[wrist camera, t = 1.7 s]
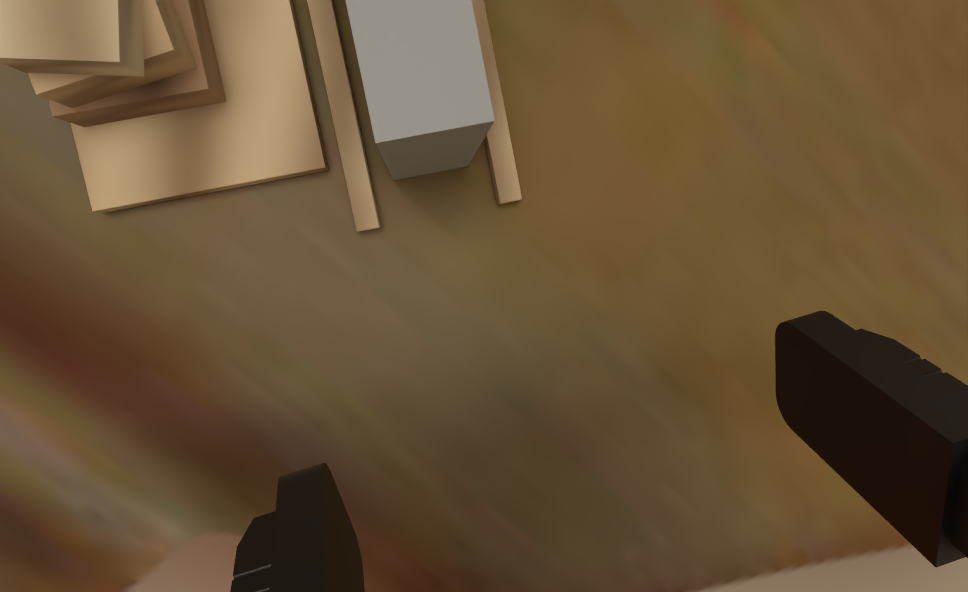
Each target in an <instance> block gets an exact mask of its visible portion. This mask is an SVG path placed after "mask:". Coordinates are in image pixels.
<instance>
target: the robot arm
mask: <svg viewBox="0 0 968 592" xmlns="http://www.w3.org/2000/svg"><path fill="white" fill-rule="evenodd" d="M775 359H776V399H777V403H778V407H779V410H780V412H781V414H782V416H783V418H784V420H785V421H786V423H787V424H788V426H789V427H790V428H791V429H792V430H793V431H794V432H795V433H796V434H797V435H798V436H799V437H800V438H801V439H802V440H803V441H804V442H805V443H806V444H807V445H808V446H809V447H810V448H812V449H813V450H814V451H815V452H816V453H817V454H818V455H819V456H820V457H821V458H822V459H823V460H824V461H825V462H826V463H827V464H828V465H829V466H830V467H831V468H832V469H833V470H834V471H836V472H837V473H838V474H839V475H840V476H841V477H842V478H843V479H844V480H845V481H846V482H847V483H848V484H849V485H850V486H851V487H852V488H853V489H854V490H855V491H856V492H857V493H859V494H860V495H861V496H862V497H863V498H864V499H865V500H866V501H867V502H868V503H869V504H870V505H871V506H872V507H873V508H874V509H875V510H876V511H877V512H878V513H879V514H880V515H881V516H883V517H884V518H885V519H886V520H887V521H888V522H889V523H890V524H891V525H892V526H893V527H894V528H895V529H896V530H897V531H898V532H899V533H900V534H901V535H902V536H903V537H904V538H906V539H907V540H908V541H909V542H910V543H911V544H912V545H913V546H914V547H915V548H916V549H917V550H918V551H919V552H920V553H921V554H922V555H923V556H924V557H926V559H927V560H928V561H930V562H931V563H932V564H933V565H934V566H935V567H938V566H941V565H944V564H947V563H950V562H953V561H956V560H958V559H961V558H964V557H967V558H968V386H967V385H966V384H964V383H962V382H961V381H959V380H958V379H956V378H955V377H953V376H951V375H950V374H948V373H947V372H946V373H942V371H941V369H940V368H939V367H937V366H935V365H934V364H932V363H931V362H929V361H928V360H926V359H923V360H922V359H921V358H920V355H918V354H916V353H915V352H913V351H912V350H910V349H908V348H907V347H905V346H904V345H902V344H901V343H899V342H897V341H896V340H894V339H891V338H888V337H885V336H882V335H879V334H876V333H873V332H870V331H866V330H863V329H859V330H854V329H853V328H851V327H850V326H848V325H847V324H845V323H844V322H842V321H841V320H839V319H838V318H836V317H835V316H833V315H832V314H830V313H828V312H826V311H818V312H815V313H812V314H808V315H805V316H802V317H798V318H795V319H792V320H788V321H785V322H782V323H780V324H779V325H778V326H777V329H776V333H775ZM233 576H234V580H233V581H232V586H231V592H365V590H364V576H363V565H362V559H361V553H360V549H359V545H358V541H357V537H356V534H355V531H354V529H353V526H352V523H351V521H350V518H349V516H348V513H347V511H346V508H345V506H344V503H343V501H342V498H341V496H340V493H339V491H338V488H337V486H336V483H335V481H334V478H333V476H332V473H331V471H330V469H329V467H328V466H327V464H326V463H323V464H320V465H316V466H313V467H310V468H307V469H303V470H300V471H297V472H293V473H290V474H287V475H284V476H281V477H280V478H279V481H278V490H277V502H276V511H275V512H272V513H269V514H265V515H262V516H259V517H256V518H254V519H253V520H252V522H251V524H250V526H249V527H248V529H247V531H246V532H245V534H244V536H243V537H242V539H241V541H240V543H239V544H238V546H237V551H236V558H235V565H234V572H233Z"/></svg>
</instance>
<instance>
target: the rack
mask: <svg viewBox="0 0 968 592" xmlns="http://www.w3.org/2000/svg"><path fill="white" fill-rule="evenodd" d="M307 2H308V6H309V11H310V16H311V20H312V25H313V30H314V34H315V39H316V44H317V48H318V53H319V58H320V62H321V67H322V72H323V76H324V81H325V86H326V90H327V95H328V99H329V104H330V109H331V113H332V118H333V123H334V127H335V132H336V137H337V141H338V146H339V151H340V155H341V160H342V165H343V169H344V174H345V179H346V183H347V188H348V193H349V197H350V202H351V206H352V211H353V216H354V220H355V225H356V230H357V232H362V231H367V230H372V229H377V228H381V226H380V221H379V216H378V212H377V207H376V202H375V197H374V193H373V188H372V183H371V179H370V174H369V169H368V164H367V160H366V155H365V150H364V145H363V141H362V136H361V131H360V127H359V122H358V117H357V112H356V108H355V103H354V98H353V93H352V89H351V84H350V79H349V75H348V70H347V65H346V60H345V56H344V51H343V46H342V41H341V37H340V32H339V27H338V22H337V18H336V13H335V8H334V4H333V0H307ZM204 5H205V9H206V13H207V18H208V22H209V26H210V31H211V35H212V40H213V44H214V48H215V53H216V57H217V61H218V66H219V70H220V74H221V79H222V83H223V88H224V92H225V96H226V101H227V102H222V103H216V104H210V105H205V106H199V107H194V108H188V109H183V110H177V111H172V112H166V113H161V114H155V115H150V116H144V117H139V118H133V119H127V120H122V121H116V122H111V123H105V124H100V125H94V126H89V127H82V126H79V125H76V124H73V123H71V127H72V131H73V135H74V139H75V142H76V146H77V150H78V154H79V158H80V162H81V166H82V170H83V174H84V178H85V182H86V186H87V190H88V194H89V198H90V202H91V206H92V210H93V211H94V212H105V213H106V212H111V211H117V210H122V209H127V208H133V207H138V206H143V205H148V204H154V203H159V202H164V201H169V200H175V199H180V198H185V197H191V196H196V195H201V194H206V193H212V192H217V191H222V190H227V189H233V188H238V187H243V186H249V185H254V184H259V183H264V182H270V181H275V180H280V179H285V178H291V177H296V176H301V175H306V174H312V173H317V172H322V171H328V170H329V167H328V163H327V158H326V153H325V149H324V144H323V140H322V135H321V130H320V126H319V121H318V117H317V112H316V107H315V103H314V98H313V93H312V89H311V84H310V80H309V75H308V70H307V66H306V61H305V57H304V52H303V47H302V43H301V38H300V34H299V29H298V24H297V20H296V15H295V11H294V6H293V1H292V0H204ZM472 5H473V11H474V16H475V21H476V26H477V31H478V36H479V42H480V47H481V52H482V57H483V62H484V68H485V73H486V78H487V83H488V88H489V93H490V99H491V104H492V109H493V114H494V119H495V121H494V123H493V125H492V126H491V128H490V130H489V131H488V133H487V135H486V137H485V143H486V149H487V154H488V159H489V164H490V169H491V174H492V179H493V185H494V190H495V195H496V200H497V205H499V204H504V203H509V202H514V201H519V200H521V199H522V197H521V191H520V186H519V181H518V176H517V170H516V165H515V160H514V155H513V149H512V144H511V139H510V134H509V129H508V123H507V118H506V113H505V108H504V102H503V97H502V92H501V87H500V82H499V76H498V71H497V66H496V61H495V55H494V50H493V45H492V40H491V34H490V29H489V24H488V19H487V14H486V8H485V3H484V0H472Z"/></svg>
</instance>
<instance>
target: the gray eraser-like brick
mask: <svg viewBox="0 0 968 592" xmlns="http://www.w3.org/2000/svg"><path fill="white" fill-rule="evenodd" d="M346 5H347V10H348V15H349V19H350V24H351V29H352V34H353V38H354V43H355V48H356V53H357V58H358V62H359V67H360V72H361V77H362V81H363V86H364V91H365V96H366V100H367V105H368V110H369V115H370V119H371V124H372V129H373V134H374V139H375V143H376V145H377V147H378V150H379V152H380V154H381V156H382V158H383V160H384V162H385V164H386V166H387V168H388V170H389V173H390V175H391V177H392V179H393V181H394V180H399V179H405V178H410V177H415V176H420V175H425V174H431V173H436V172H441V171H446V170H451V169H457V168H462V167H467V166H468V165H469V164H470V162H471V160H472V159H473V157H474V155H475V154H476V152H477V150H478V148H479V147H480V145H481V143H482V142H483V140H484V138H485V137H486V135H487V133H488V131H489V130H490V128H491V126H492V125H493V123H494V121H495V119H494V114H493V109H492V104H491V99H490V93H489V88H488V83H487V78H486V73H485V68H484V62H483V57H482V52H481V47H480V42H479V36H478V31H477V26H476V21H475V16H474V11H473V5H472V0H346Z"/></svg>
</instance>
